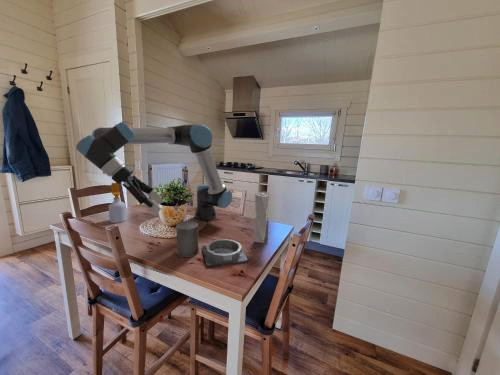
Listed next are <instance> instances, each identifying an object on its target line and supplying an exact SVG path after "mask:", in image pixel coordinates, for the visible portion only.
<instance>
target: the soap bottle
mask: <svg viewBox="0 0 500 375" xmlns="http://www.w3.org/2000/svg"><path fill="white" fill-rule="evenodd" d="M110 187H111V194H112V195H113V196H114V197H113V201H112V202H110V204H109V205H108V217H109V222H110V223H113V224H119V223H123V222H126V221H127V209H126V208H127V206H126V203H125V202H123V201H121V198H120V197H119V196H120V195H121V192H120V184H117V183H116V182H111V183H110Z"/></svg>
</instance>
